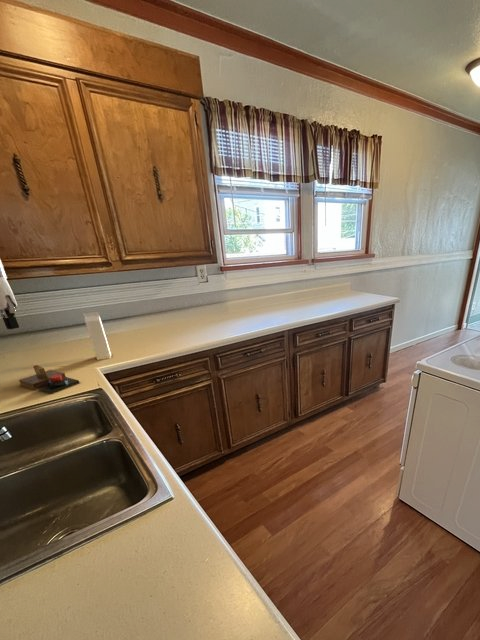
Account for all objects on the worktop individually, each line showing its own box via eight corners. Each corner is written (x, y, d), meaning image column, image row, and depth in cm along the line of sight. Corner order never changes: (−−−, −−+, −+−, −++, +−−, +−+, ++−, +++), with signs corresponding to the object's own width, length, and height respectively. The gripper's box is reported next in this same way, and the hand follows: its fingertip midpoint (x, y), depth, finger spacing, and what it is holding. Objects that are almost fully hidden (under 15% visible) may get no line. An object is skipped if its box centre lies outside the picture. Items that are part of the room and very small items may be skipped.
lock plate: (35, 391, 127) (32, 383, 125) (21, 386, 131) (18, 379, 129) (67, 379, 136) (64, 372, 135) (52, 376, 140) (50, 369, 139)
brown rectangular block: (47, 377, 131) (43, 367, 129) (43, 378, 130) (39, 368, 128) (41, 374, 134) (37, 364, 132) (36, 375, 133) (32, 365, 131)
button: (55, 382, 126) (53, 378, 125) (49, 381, 127) (48, 377, 126) (64, 379, 129) (63, 375, 128) (59, 378, 130) (57, 374, 129)
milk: (98, 357, 162) (83, 312, 152) (111, 355, 164) (98, 310, 154) (97, 360, 157) (82, 314, 147) (111, 358, 159) (97, 313, 149)
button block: (51, 394, 123) (48, 386, 122) (39, 391, 127) (36, 383, 125) (79, 384, 132) (77, 376, 131) (68, 380, 135) (65, 373, 134)
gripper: (-33, 274, 110) (-10, 328, 118) (-11, 275, 103) (12, 332, 111) (-7, 272, 116) (14, 324, 124) (16, 273, 109) (36, 328, 117)
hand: (13, 328), depth 118 cm, fingers closed
